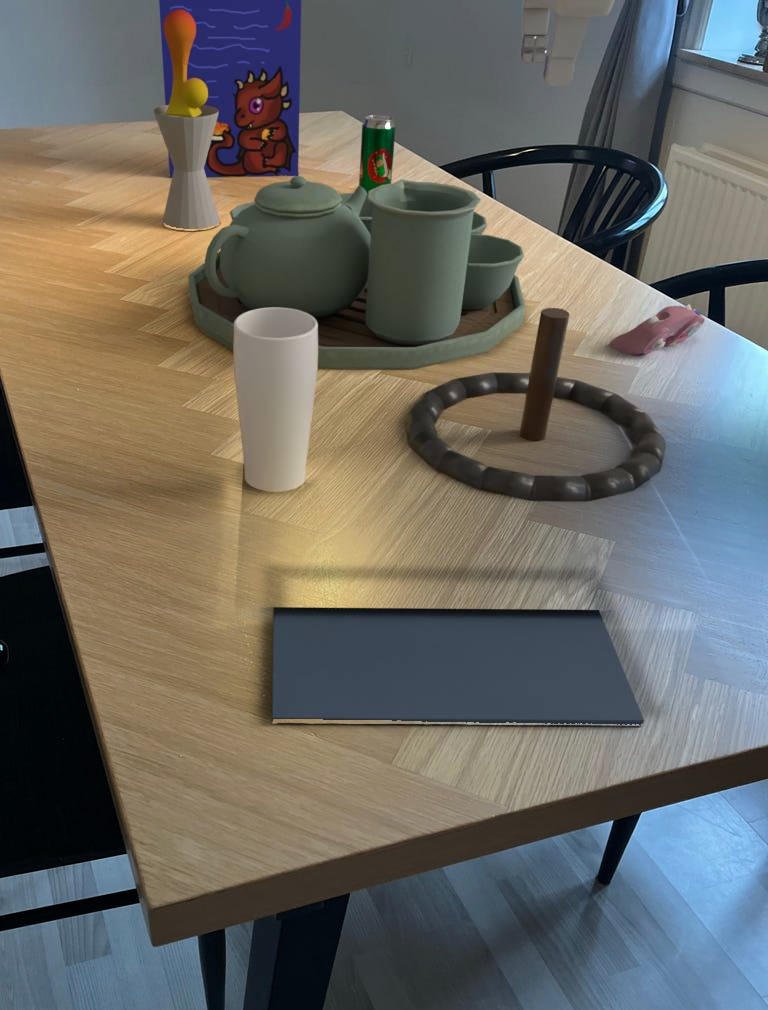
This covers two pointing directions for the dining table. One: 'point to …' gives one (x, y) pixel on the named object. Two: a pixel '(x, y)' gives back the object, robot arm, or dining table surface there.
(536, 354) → the stand
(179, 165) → the lava lamp
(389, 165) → the soda can
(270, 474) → the drinking glass
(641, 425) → the dark segmented ring
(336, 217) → the tea set
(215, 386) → the dining table surface
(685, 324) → the pink toy car
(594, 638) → the felt mat
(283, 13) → the cereal box
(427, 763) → the dining table surface
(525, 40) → the robot arm
